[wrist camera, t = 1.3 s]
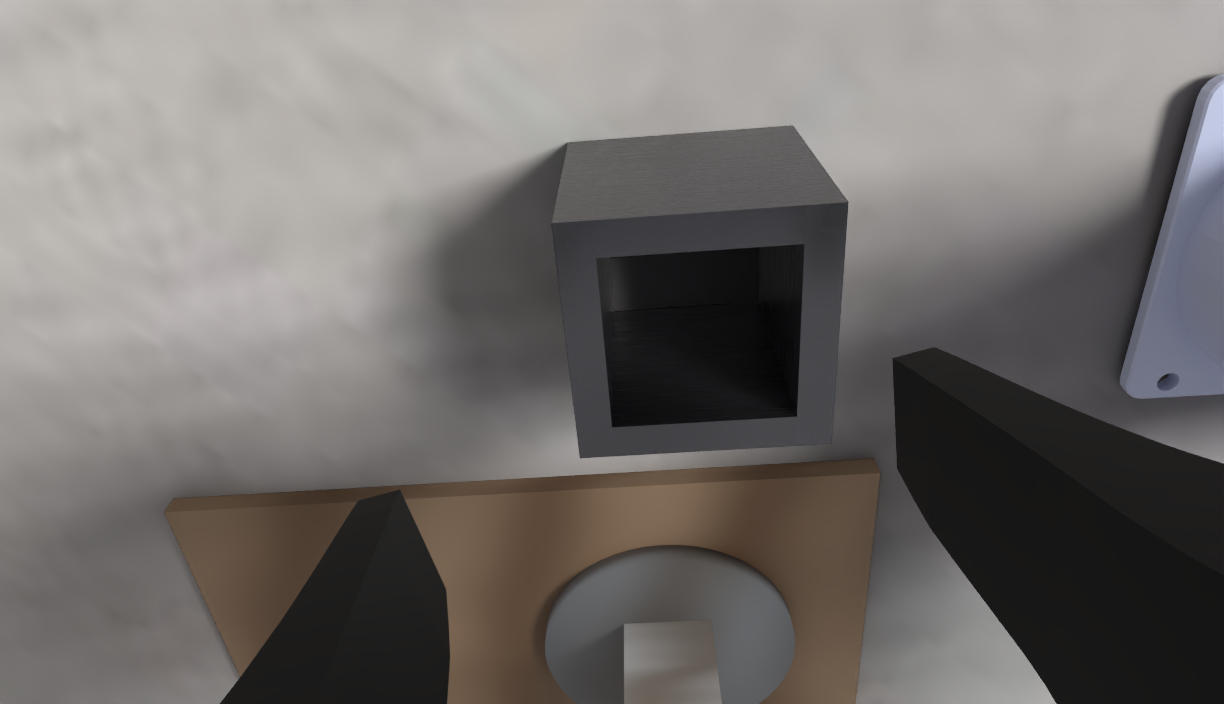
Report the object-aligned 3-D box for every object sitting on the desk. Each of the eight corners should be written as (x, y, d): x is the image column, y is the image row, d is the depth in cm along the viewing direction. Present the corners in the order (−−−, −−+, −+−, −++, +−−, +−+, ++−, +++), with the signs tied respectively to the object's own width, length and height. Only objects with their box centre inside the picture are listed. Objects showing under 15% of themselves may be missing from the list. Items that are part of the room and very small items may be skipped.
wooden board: (868, 446, 23) (927, 580, 19) (842, 716, 29) (882, 866, 25) (183, 485, 24) (84, 621, 20) (294, 738, 30) (238, 887, 26)
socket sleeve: (793, 125, 18) (848, 202, 14) (786, 324, 20) (831, 443, 16) (567, 142, 18) (551, 223, 14) (588, 337, 21) (580, 458, 16)
